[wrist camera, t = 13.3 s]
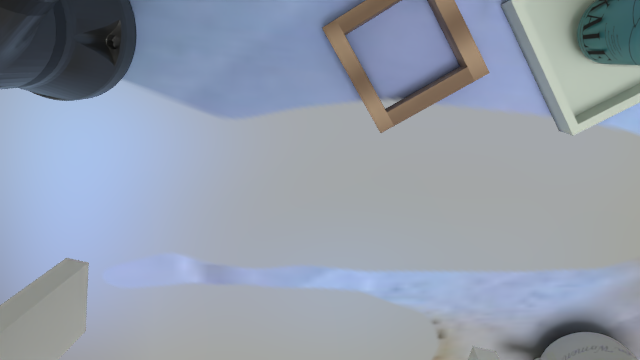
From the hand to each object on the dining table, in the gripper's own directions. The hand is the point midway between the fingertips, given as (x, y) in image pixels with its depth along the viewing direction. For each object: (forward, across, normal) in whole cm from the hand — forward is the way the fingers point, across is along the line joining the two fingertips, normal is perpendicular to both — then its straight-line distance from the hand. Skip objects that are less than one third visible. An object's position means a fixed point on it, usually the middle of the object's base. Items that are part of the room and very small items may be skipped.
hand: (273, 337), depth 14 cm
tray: (+33, +24, +16) cm, 44 cm away
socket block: (+33, +6, +11) cm, 36 cm away
